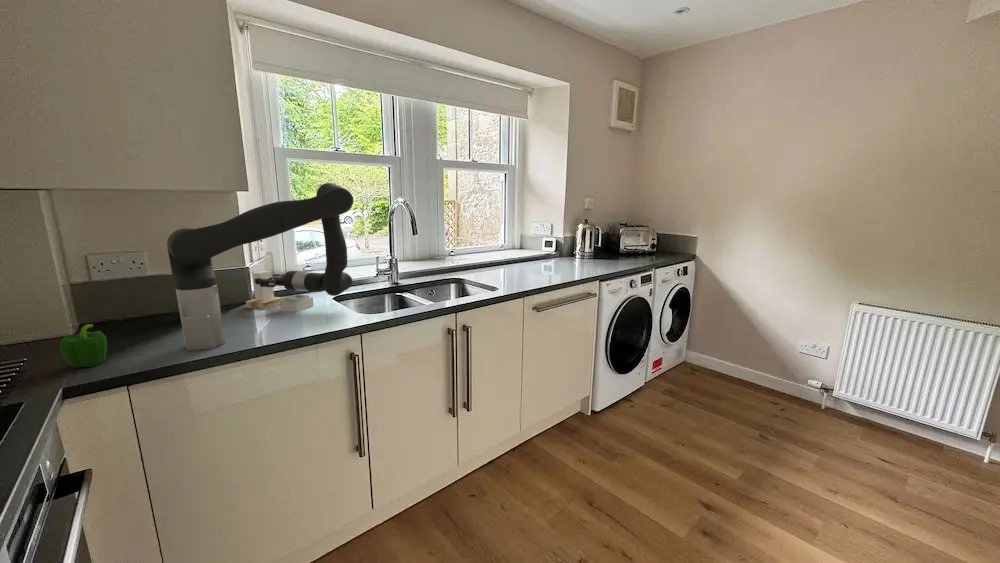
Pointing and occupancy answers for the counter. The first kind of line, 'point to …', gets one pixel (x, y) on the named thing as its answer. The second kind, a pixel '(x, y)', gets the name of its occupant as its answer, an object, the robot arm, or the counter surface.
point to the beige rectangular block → (296, 303)
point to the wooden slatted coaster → (264, 303)
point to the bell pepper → (84, 348)
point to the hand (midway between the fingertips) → (264, 279)
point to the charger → (262, 292)
